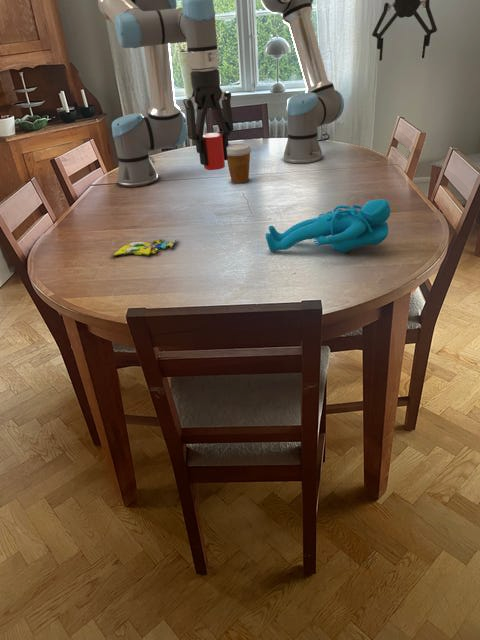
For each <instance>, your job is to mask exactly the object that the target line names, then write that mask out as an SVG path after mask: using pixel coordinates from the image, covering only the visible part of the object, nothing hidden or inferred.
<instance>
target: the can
mask: <svg viewBox="0 0 480 640" xmlns="http://www.w3.org/2000/svg"><path fill="white" fill-rule="evenodd" d="M202 140H205V142H206V151H207V160H208V165H207V166H205V165H203V167H204V169H205V170H207V171H216V170H222V169H224V168H225V167H226V160H225V159H224V149H223V138H222V134H221V133H220V132H208V133H203V139H202Z"/></svg>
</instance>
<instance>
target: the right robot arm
mask: <svg viewBox="0 0 480 640" xmlns="http://www.w3.org/2000/svg"><path fill="white" fill-rule="evenodd" d="M260 2H261V5H262V6H263V7H264V9H265V10H266V11H268V12H269V13H272V14H280V15H281V18H282V21H283V23H284V24H286V25H287V26H288V27H289V31H290V34H291V38H292V41H293V45H294V48H295V52H296V55H297V58H298V62H299V66H300V69H301V70H300V71H301V72H302V76H303V80H304V84H305V86H306V87H305V88H306V91H305V92H302V93H297V94H294V95H292V96H290V97H289V98H288V99H287V101H286V126H287V129H286V131H287V141H286V145H285V148H284V150H283V161H284V162H286V163H290V164H310V163H315V162H318V161H320V160H321V159H322V158H323V153H322V149H321V145H320V142H325V141H329V140H330V135H329V134H328V132H323V133H322V136H323V137H325V136H326V138H319V139H318V127H322V126H324V125H329V124H332V123H333V122H335V121H337V120H338V119H339V118H341V116H342V114H343V112H344V110H345V109H344V107H345V101H344V97H343V94H342V93H341V92H340V91H338V90H336V89H335V86H334V83H333V82H332V81H330V80H329V78H328V76H327V71H326V68H325V64H324V61H323V56H322V54H321V50H320V46H319V42H318V39H317V36H316V32H315V31H316V30H315V28H314V24H313V21H312V17H311V13H312V12H313V2H314V0H260ZM430 2H431V1H430V0H394V2H392V3H391V2H385V3H384V5H383V11H382V13H381V15H380V17H379V19H378V21H377V24H376V25H375V27H374V30H373V31H372V34H371V36H372V37H373V38H376V49H377V50H379V61H381V62H382V61H383V51H384V37H382V36H383V35H384V34H385V33H386V31H387V30H388V29H389V28H390V27H391V26H392V24H393V23H394V22H395V20H396V19H397V17H398V18H400V19H403V18H411V17H413V16H414V18H415V19H416V21H417V22H418V24H419V25H420V26H421V28H422V29H423V30H424V32H425V34H424V35H423V42H422V49H421V59H425V55H426V47H430V42H431V36H432V35H433V34H434V33H436V32H438V28H437V25H436V22H435V19H434V16H433V13H432V10H431V8H430ZM420 6H422V8H424V10H425V12H426V15H427V18H428V20H429V24H430V26H431V29H430V27H428V25H427V23H426V22H425V21H424V20H423V18H422V17H421V16H420V13H418V11H417V10H419V8H420ZM391 9H393V10H394V12H395V13H393V15H392V16H391V18H390V19H389V20H388V21H387V22H386V23H385V26H384V27H382V29H381V30H380V32H378V31H379V29H380V28H381V26H382V24H383V22H384V20H385V17H386V15H387V13H388V12H389V11H390V10H391Z"/></svg>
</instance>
